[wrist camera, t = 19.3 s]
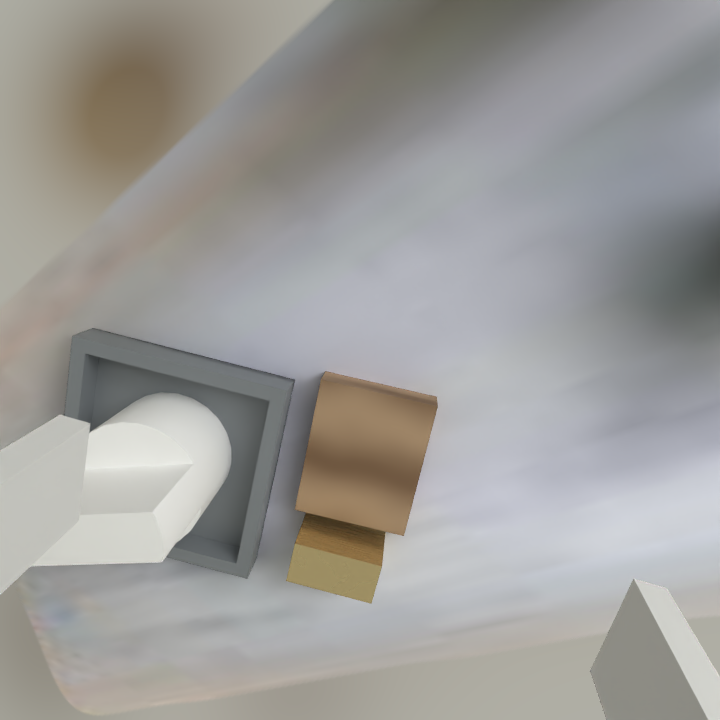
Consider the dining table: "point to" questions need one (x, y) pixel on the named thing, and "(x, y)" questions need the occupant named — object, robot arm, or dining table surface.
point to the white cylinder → (145, 482)
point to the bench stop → (337, 557)
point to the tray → (224, 399)
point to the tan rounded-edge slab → (365, 452)
